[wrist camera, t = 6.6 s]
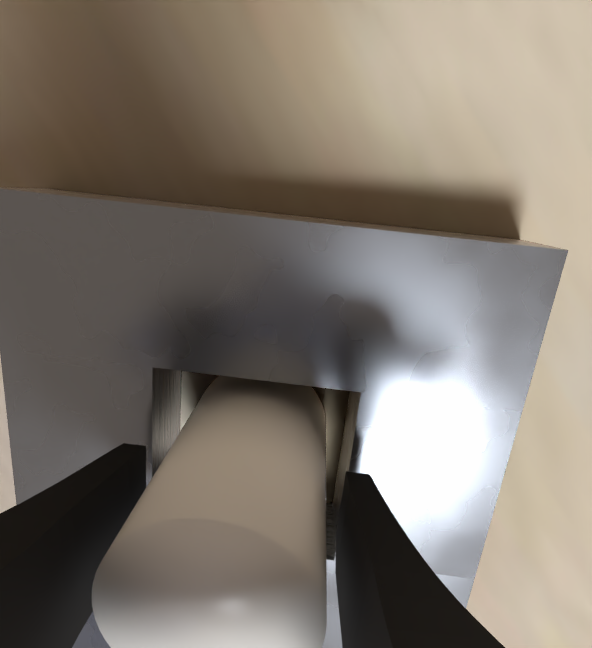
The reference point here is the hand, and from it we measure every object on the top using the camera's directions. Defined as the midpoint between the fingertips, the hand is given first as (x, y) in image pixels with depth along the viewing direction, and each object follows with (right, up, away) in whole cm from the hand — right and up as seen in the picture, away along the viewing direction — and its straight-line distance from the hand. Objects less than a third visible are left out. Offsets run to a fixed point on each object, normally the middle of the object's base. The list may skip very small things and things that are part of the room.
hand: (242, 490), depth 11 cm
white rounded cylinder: (0, +1, +3) cm, 3 cm away
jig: (0, -1, +4) cm, 4 cm away
